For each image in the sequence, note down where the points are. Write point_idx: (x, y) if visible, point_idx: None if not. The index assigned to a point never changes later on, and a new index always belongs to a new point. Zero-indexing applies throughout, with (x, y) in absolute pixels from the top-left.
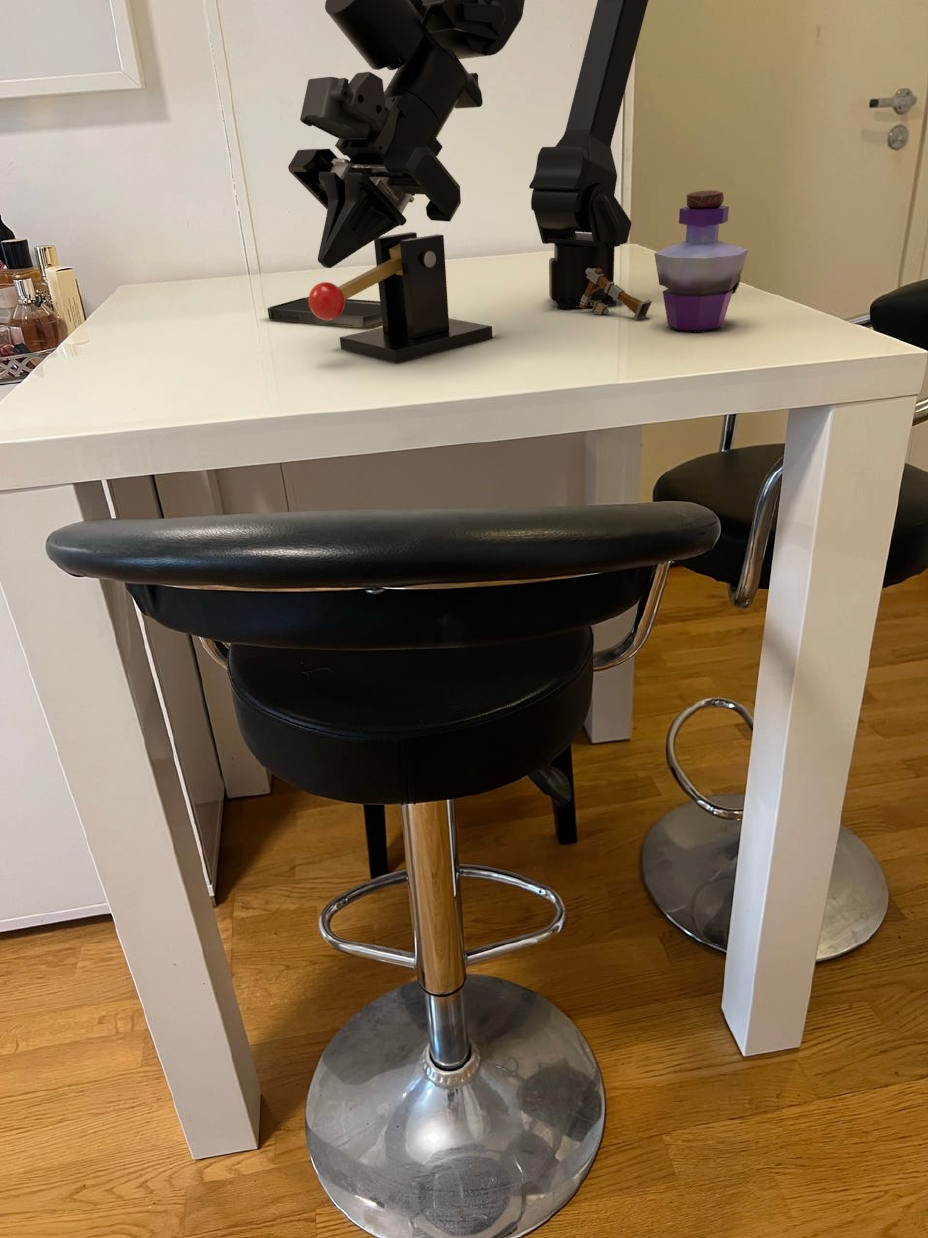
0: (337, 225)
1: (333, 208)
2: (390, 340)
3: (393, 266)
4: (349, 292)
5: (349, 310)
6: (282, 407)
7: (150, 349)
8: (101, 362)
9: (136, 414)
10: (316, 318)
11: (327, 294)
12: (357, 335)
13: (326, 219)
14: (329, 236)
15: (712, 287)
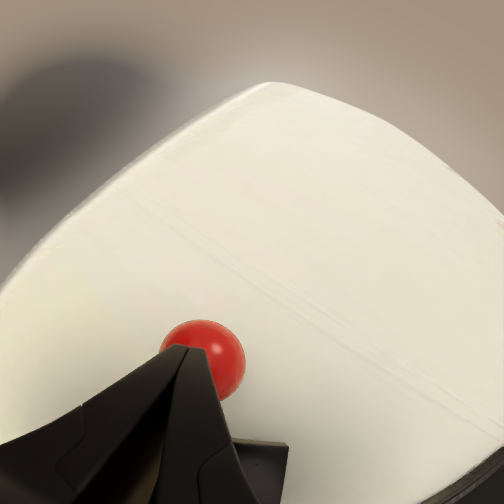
0: (111, 409)
1: (185, 499)
2: None
3: None
4: None
5: None
6: (128, 199)
7: (488, 275)
8: (467, 217)
9: (253, 129)
10: (447, 492)
11: (167, 337)
12: (267, 470)
13: (226, 454)
14: (159, 388)
15: None
